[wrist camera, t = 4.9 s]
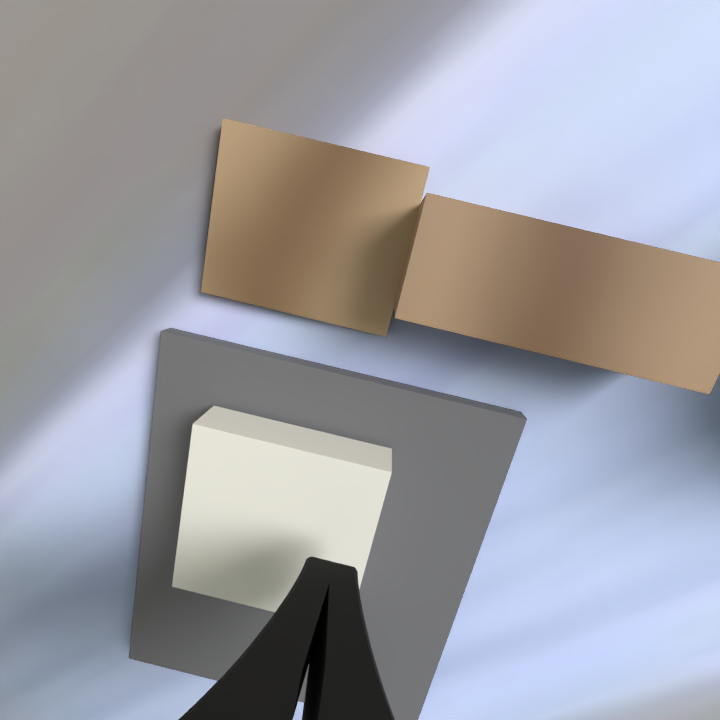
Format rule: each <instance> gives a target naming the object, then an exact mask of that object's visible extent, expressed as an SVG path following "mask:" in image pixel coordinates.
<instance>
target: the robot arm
mask: <svg viewBox="0 0 720 720" xmlns="http://www.w3.org/2000/svg"><path fill="white" fill-rule="evenodd" d="M308 665H309V668H308ZM307 668H308V676H307V684H306V692H305V700H304V708H303V716H302V720H395V718H394V716H393V713H392V710H391V708H390V705H389V702H388V699H387V697H386V694H385V691H384V688H383V685H382V682H381V679H380V675H379V672H378V669H377V666H376V662H375V659H374V655H373V652H372V648H371V644H370V640H369V636H368V632H367V628H366V624H365V619H364V615H363V609H362V604H361V599H360V592H359V584H358V571H357V570H356V568H355V567H352V566H348V565H344V564H340V563H336V562H332V561H328V560H324V559H320V558H316V557H312V556H311V557H309V558H307V559H306V561H305V564H304V566H303V568H302V570H301V572H300V574H299V576H298V578H297V580H296V581H295V583H294V585H293V586H292V588H291V590H290V591H289V593H288V594H287V596H286V597H285V599H284V600H283V602H282V603H281V605H280V606H279V608H278V609H277V610H276V612H275V613H274V615H273V616H272V618H271V619H270V620H269V622H268V623H267V624H266V625H265V627H264V628H263V629H262V630H261V632H260V633H259V634H258V636H257V637H256V638H255V639H254V641H253V642H252V643H251V644H250V646H249V647H248V648H247V649H246V650H245V652H244V653H243V654H242V655H241V656H240V657H239V659H238V660H237V661H236V662H235V663H234V664H233V665H232V666H231V667H230V669H229V670H228V671H227V672H226V673H225V674H224V675H223V676H222V677H221V678H220V679H219V680H218V681H217V682H216V684H215V685H214V686H213V687H212V688H211V689H210V690H209V691H208V692H207V693H206V694H205V695H204V696H203V697H202V698H201V699H200V700H199V701H198V702H197V703H196V704H195V705H194V706H193V707H192V708H190V709H189V710H188V711H187V712H186V713H185V714H184V715H183V716H182V717H181V718H180V719H179V720H292V719H293V716H294V713H295V709H296V706H297V702H298V699H299V696H300V692H301V689H302V685H303V682H304V679H305V675H306V672H307Z"/></svg>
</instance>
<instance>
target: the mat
mask: <svg viewBox="0 0 720 720" xmlns="http://www.w3.org/2000/svg"><path fill="white" fill-rule="evenodd" d="M213 406H218V407H222V408H226V409H230V410H234V411H239V412H243V413H247V414H251V415H255V416H259V417H263V418H267V419H272V420H276V421H280V422H284V423H288V424H292V425H296V426H300V427H305V428H309V429H313V430H317V431H321V432H325V433H329V434H333V435H338V436H342V437H346V438H350V439H354V440H358V441H362V442H366V443H371V444H375V445H379V446H383V447H387V448H391V449H392V474H391V477H390V481H389V484H388V488H387V492H386V495H385V499H384V502H383V506H382V510H381V513H380V517H379V520H378V524H377V528H376V531H375V535H374V538H373V542H372V546H371V549H370V553H369V556H368V560H367V564H366V567H365V571H364V574H363V578H362V582H361V585H360V589H359V592H360V599H361V604H362V609H363V615H364V619H365V624H366V628H367V632H368V636H369V640H370V644H371V648H372V652H373V655H374V659H375V662H376V666H377V669H378V672H379V675H380V679H381V682H382V685H383V688H384V691H385V694H386V697H387V699H388V702H389V705H390V708H391V710H392V713H393V716H394V718H395V720H418V718H419V715H420V713H421V710H422V707H423V704H424V702H425V699H426V696H427V693H428V690H429V688H430V685H431V682H432V679H433V677H434V674H435V671H436V668H437V666H438V663H439V660H440V657H441V655H442V652H443V649H444V646H445V644H446V641H447V638H448V635H449V633H450V630H451V627H452V624H453V621H454V619H455V616H456V613H457V610H458V608H459V605H460V602H461V599H462V597H463V594H464V591H465V588H466V586H467V583H468V580H469V577H470V575H471V572H472V569H473V566H474V564H475V561H476V558H477V555H478V553H479V550H480V547H481V544H482V541H483V539H484V536H485V533H486V530H487V528H488V525H489V522H490V519H491V517H492V514H493V511H494V508H495V506H496V503H497V500H498V497H499V495H500V492H501V489H502V486H503V484H504V481H505V478H506V475H507V473H508V470H509V467H510V464H511V461H512V459H513V456H514V453H515V450H516V448H517V445H518V442H519V439H520V437H521V434H522V431H523V428H524V426H525V423H526V420H527V419H526V417H525V416H524V415H523V414H522V412H519V411H515V410H511V409H507V408H503V407H498V406H494V405H490V404H486V403H482V402H478V401H473V400H469V399H465V398H461V397H457V396H453V395H448V394H444V393H440V392H436V391H432V390H428V389H423V388H419V387H415V386H411V385H407V384H403V383H398V382H394V381H390V380H386V379H382V378H378V377H373V376H369V375H365V374H361V373H357V372H353V371H348V370H344V369H340V368H336V367H332V366H327V365H323V364H319V363H315V362H311V361H307V360H302V359H298V358H294V357H290V356H286V355H282V354H277V353H273V352H269V351H265V350H261V349H257V348H252V347H248V346H244V345H240V344H236V343H232V342H227V341H223V340H219V339H215V338H211V337H207V336H202V335H198V334H194V333H190V332H186V331H182V330H177V329H173V328H169V329H166V330H163V331H161V337H160V347H159V357H158V367H157V377H156V388H155V398H154V408H153V418H152V428H151V438H150V448H149V459H148V469H147V479H146V489H145V499H144V509H143V519H142V530H141V540H140V550H139V560H138V570H137V580H136V590H135V601H134V611H133V621H132V631H131V641H130V651H129V658H130V659H134V660H138V661H142V662H146V663H150V664H154V665H157V666H161V667H165V668H169V669H173V670H177V671H181V672H185V673H189V674H193V675H197V676H201V677H205V678H209V679H213V680H217V681H218V680H219V679H220V678H221V677H222V676H223V675H224V674H225V673H226V672H227V671H228V670H229V669H230V667H231V666H232V665H233V664H234V663H235V662H236V661H237V660H238V659H239V657H240V656H241V655H242V654H243V653H244V652H245V650H246V649H247V648H248V647H249V646H250V644H251V643H252V642H253V641H254V639H255V638H256V637H257V636H258V634H259V633H260V632H261V630H262V629H263V628H264V627H265V625H266V624H267V623H268V622H269V620H270V619H271V618H272V616H273V615H274V613H275V612H272V611H268V610H264V609H260V608H256V607H252V606H248V605H244V604H240V603H236V602H232V601H228V600H224V599H220V598H216V597H212V596H208V595H204V594H200V593H196V592H192V591H188V590H184V589H180V588H176V587H172V582H173V574H174V566H175V559H176V551H177V543H178V535H179V527H180V519H181V511H182V504H183V496H184V488H185V480H186V472H187V464H188V457H189V449H190V441H191V433H192V425H193V423H194V422H195V421H197V420H198V419H199V418H200V417H201V416H202V415H204V414H205V413H206V412H207V411H208V410H209V409H211V408H212V407H213ZM308 668H309V665H308ZM308 668H307V672H306V675H305V679H304V682H303V685H302V689H301V692H300V696H299V699H298V701H300V702H304V700H305V692H306V684H307V676H308Z"/></svg>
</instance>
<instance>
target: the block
mask: <svg viewBox="0 0 720 720" xmlns="http://www.w3.org/2000/svg"><path fill="white" fill-rule="evenodd" d="M391 474H392V449H391V448H387V447H383V446H379V445H375V444H371V443H366V442H362V441H358V440H354V439H350V438H346V437H342V436H338V435H333V434H329V433H325V432H321V431H317V430H313V429H309V428H305V427H300V426H296V425H292V424H288V423H284V422H280V421H276V420H272V419H267V418H263V417H259V416H255V415H251V414H247V413H243V412H239V411H234V410H230V409H226V408H222V407H218V406H213V407H212V408H211V409H209V410H208V411H207V412H206V413H205V414H204V415H202V416H201V417H200V418H199V419H198V420H197V421H195V422H194V423H193V425H192V433H191V441H190V449H189V457H188V464H187V472H186V480H185V488H184V496H183V504H182V511H181V519H180V527H179V535H178V543H177V551H176V559H175V566H174V574H173V582H172V587H176V588H180V589H184V590H188V591H192V592H196V593H200V594H204V595H208V596H212V597H216V598H220V599H224V600H228V601H232V602H236V603H240V604H244V605H248V606H252V607H256V608H260V609H264V610H268V611H272V612H276V610H277V609H278V608H279V606H280V605H281V603H282V602H283V600H284V599H285V597H286V596H287V594H288V593H289V591H290V590H291V588H292V586H293V585H294V583H295V581H296V580H297V578H298V576H299V574H300V572H301V570H302V568H303V566H304V564H305V561H306V559H307V558H309V557H311V556H312V557H316V558H320V559H324V560H328V561H332V562H336V563H340V564H344V565H348V566H352V567H355V568H356V570H357V571H358V584H359V589H360V585H361V582H362V578H363V574H364V571H365V567H366V564H367V560H368V556H369V553H370V549H371V546H372V542H373V538H374V535H375V531H376V528H377V524H378V520H379V517H380V513H381V510H382V506H383V502H384V499H385V495H386V492H387V488H388V484H389V481H390V477H391Z"/></svg>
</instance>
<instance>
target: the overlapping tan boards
mask: <svg viewBox="0 0 720 720" xmlns="http://www.w3.org/2000/svg"><path fill="white" fill-rule="evenodd" d="M429 168H430V167H427V166H423V165H419V164H414V163H410V162H406V161H402V160H397V159H393V158H389V157H385V156H381V155H376V154H372V153H368V152H364V151H359V150H355V149H351V148H347V147H343V146H338V145H334V144H330V143H326V142H321V141H317V140H313V139H309V138H305V137H300V136H296V135H292V134H288V133H283V132H279V131H275V130H271V129H267V128H262V127H258V126H254V125H250V124H245V123H241V122H237V121H233V120H229V119H224V118H223V120H222V128H221V136H220V144H219V151H218V159H217V167H216V175H215V183H214V191H213V199H212V207H211V215H210V223H209V231H208V239H207V247H206V255H205V263H204V271H203V279H202V287H201V292H203V293H207V294H212V295H216V296H220V297H224V298H228V299H232V300H236V301H240V302H244V303H249V304H253V305H257V306H261V307H265V308H269V309H273V310H277V311H281V312H286V313H290V314H294V315H298V316H302V317H306V318H310V319H314V320H318V321H323V322H327V323H331V324H335V325H339V326H343V327H347V328H351V329H355V330H360V331H364V332H368V333H372V334H376V335H380V336H384V337H387V333H388V329H389V325H390V321H391V317H392V313H393V309H394V310H395V318H396V319H400V320H405V321H409V322H413V323H417V324H421V325H425V326H429V327H433V328H438V329H442V330H446V331H450V332H454V333H458V334H462V335H466V336H471V337H475V338H479V339H483V340H487V341H491V342H495V343H499V344H504V345H508V346H512V347H516V348H520V349H524V350H528V351H532V352H537V353H541V354H545V355H549V356H553V357H557V358H561V359H565V360H570V361H574V362H578V363H582V364H586V365H590V366H594V367H598V368H603V369H607V370H611V371H615V372H619V373H623V374H627V375H631V376H636V377H640V378H644V379H648V380H652V381H656V382H660V383H664V384H669V385H673V386H677V387H681V388H685V389H689V390H693V391H697V392H702V393H706V394H710V392H711V390H712V388H713V386H714V384H715V382H716V380H717V378H718V376H719V374H720V262H716V261H712V260H708V259H704V258H699V257H695V256H691V255H687V254H682V253H678V252H674V251H670V250H666V249H661V248H657V247H653V246H649V245H645V244H640V243H636V242H632V241H628V240H624V239H619V238H615V237H611V236H607V235H603V234H598V233H594V232H590V231H586V230H582V229H577V228H573V227H569V226H565V225H561V224H556V223H552V222H548V221H544V220H540V219H535V218H531V217H527V216H523V215H518V214H514V213H510V212H506V211H502V210H497V209H493V208H489V207H485V206H481V205H476V204H472V203H468V202H464V201H460V200H455V199H451V198H447V197H443V196H439V195H434V194H430V193H426V195H425V197H424V199H423V200H422V202H421V199H422V195H423V191H424V187H425V183H426V179H427V176H428V172H429ZM420 203H421V204H420Z"/></svg>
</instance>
